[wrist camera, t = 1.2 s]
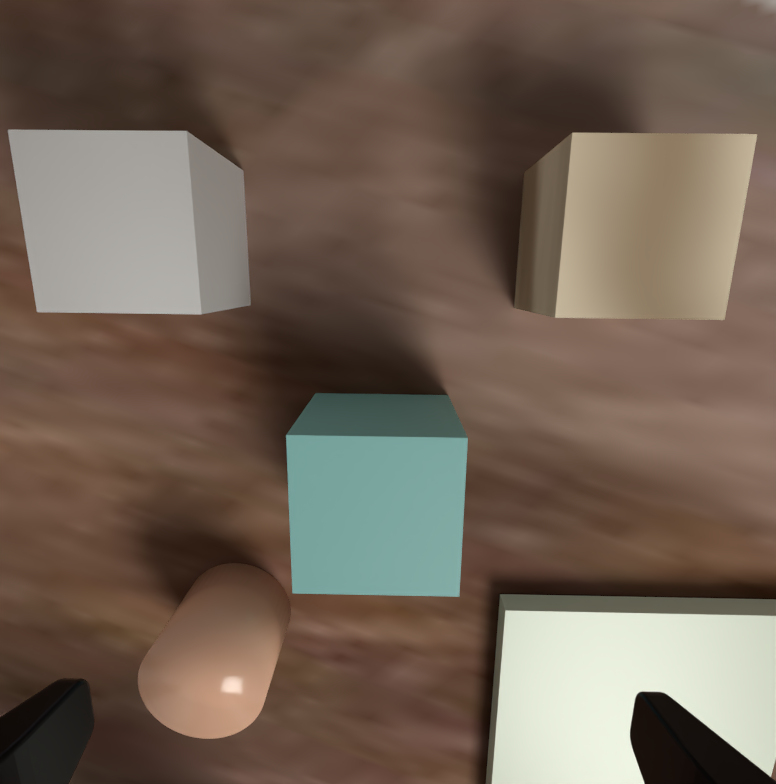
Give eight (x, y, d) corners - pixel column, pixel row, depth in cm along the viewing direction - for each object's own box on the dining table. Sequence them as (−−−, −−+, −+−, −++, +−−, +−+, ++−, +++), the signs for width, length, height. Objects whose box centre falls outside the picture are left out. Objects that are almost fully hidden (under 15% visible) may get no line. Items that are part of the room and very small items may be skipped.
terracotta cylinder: (192, 650, 21) (145, 737, 17) (183, 561, 20) (130, 631, 16) (292, 652, 21) (268, 740, 17) (288, 563, 20) (262, 634, 16)
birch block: (513, 307, 17) (554, 317, 13) (523, 173, 16) (572, 132, 12) (639, 309, 17) (724, 319, 13) (657, 174, 16) (757, 134, 11)
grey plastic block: (128, 303, 17) (37, 312, 13) (113, 169, 16) (7, 129, 12) (251, 304, 17) (201, 314, 13) (244, 171, 16) (186, 130, 12)
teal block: (318, 513, 19) (292, 593, 14) (315, 392, 18) (286, 434, 13) (442, 515, 19) (459, 596, 14) (447, 394, 18) (467, 437, 13)
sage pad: (483, 813, 22) (487, 838, 21) (500, 594, 20) (505, 610, 19) (737, 820, 22) (753, 844, 21) (791, 599, 19) (811, 616, 18)
